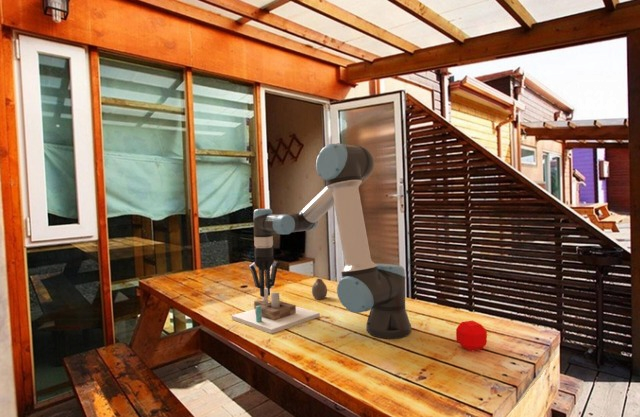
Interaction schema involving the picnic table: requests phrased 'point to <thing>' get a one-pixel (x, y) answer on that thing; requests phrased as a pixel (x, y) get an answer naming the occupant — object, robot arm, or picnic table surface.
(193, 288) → the picnic table surface
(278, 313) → the collar
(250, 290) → the picnic table surface
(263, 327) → the base
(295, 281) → the picnic table surface
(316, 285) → the avocado
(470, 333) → the ball
